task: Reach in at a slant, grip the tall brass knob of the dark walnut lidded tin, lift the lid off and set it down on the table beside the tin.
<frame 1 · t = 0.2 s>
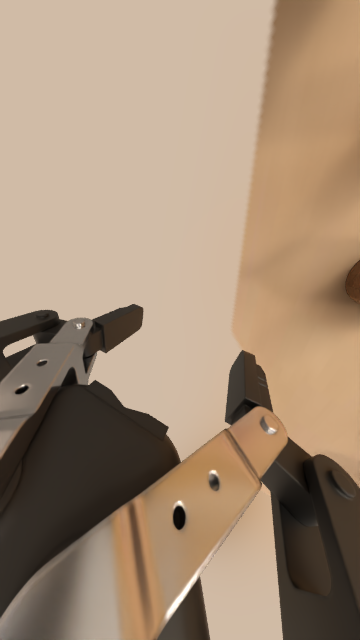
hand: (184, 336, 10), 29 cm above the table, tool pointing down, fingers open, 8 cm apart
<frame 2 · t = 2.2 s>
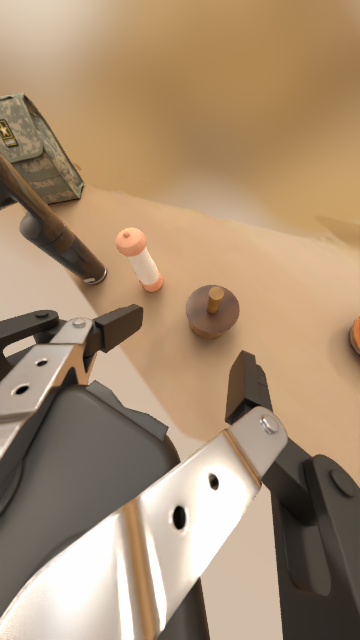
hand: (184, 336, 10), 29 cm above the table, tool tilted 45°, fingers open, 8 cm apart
lid: (211, 308, 32), point 8 cm above the table, touching tin
lunch bag: (64, 195, 70), on the table
pepper shaker: (152, 283, 47), on the table
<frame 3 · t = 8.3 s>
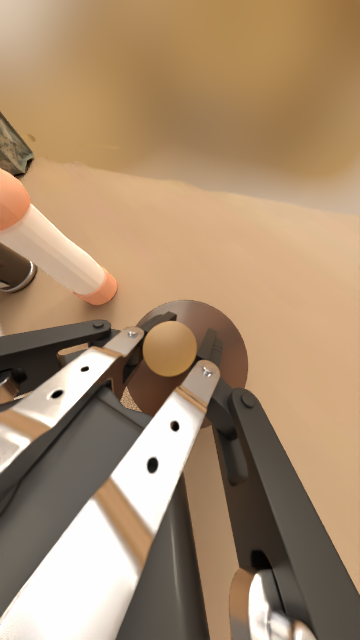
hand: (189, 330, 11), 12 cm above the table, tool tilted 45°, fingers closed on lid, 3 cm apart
lid: (183, 355, 14), point 9 cm above the table, touching gripper, tin
lunch bag: (7, 171, 53), on the table
pepper shaker: (101, 290, 29), on the table
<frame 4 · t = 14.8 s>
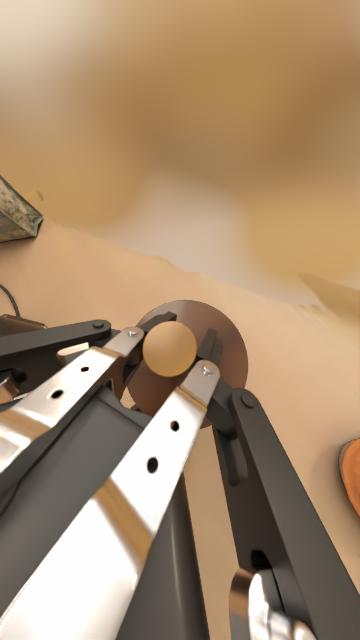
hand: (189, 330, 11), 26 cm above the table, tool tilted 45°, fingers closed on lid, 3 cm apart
lid: (183, 356, 14), point 22 cm above the table, touching gripper
lunch bag: (21, 231, 62), on the table
when the fingers open (4 cm above the table, at t = 21.1 s): lid stays where it is, point 1 cm above the table.
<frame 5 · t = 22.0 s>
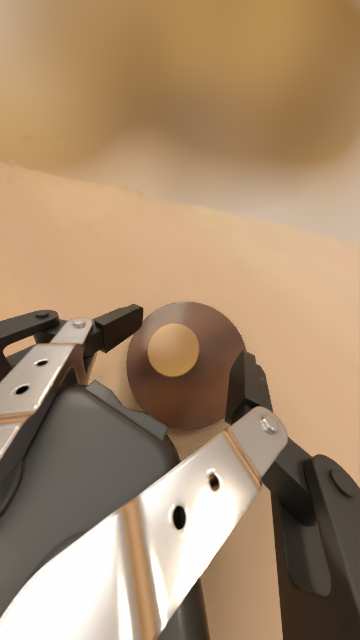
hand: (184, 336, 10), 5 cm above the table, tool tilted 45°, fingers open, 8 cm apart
lid: (184, 356, 14), point 1 cm above the table
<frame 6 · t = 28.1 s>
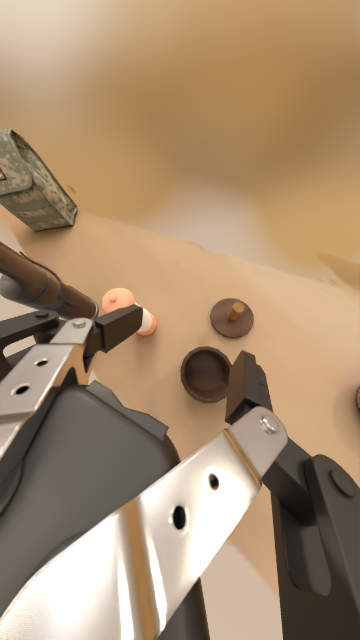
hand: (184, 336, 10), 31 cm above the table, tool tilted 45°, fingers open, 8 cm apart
tin: (204, 371, 37), on the table
lid: (231, 317, 41), point 1 cm above the table
lunch bag: (57, 221, 68), on the table
pepper shaker: (146, 324, 44), on the table
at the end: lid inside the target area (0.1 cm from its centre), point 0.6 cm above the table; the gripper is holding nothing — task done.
